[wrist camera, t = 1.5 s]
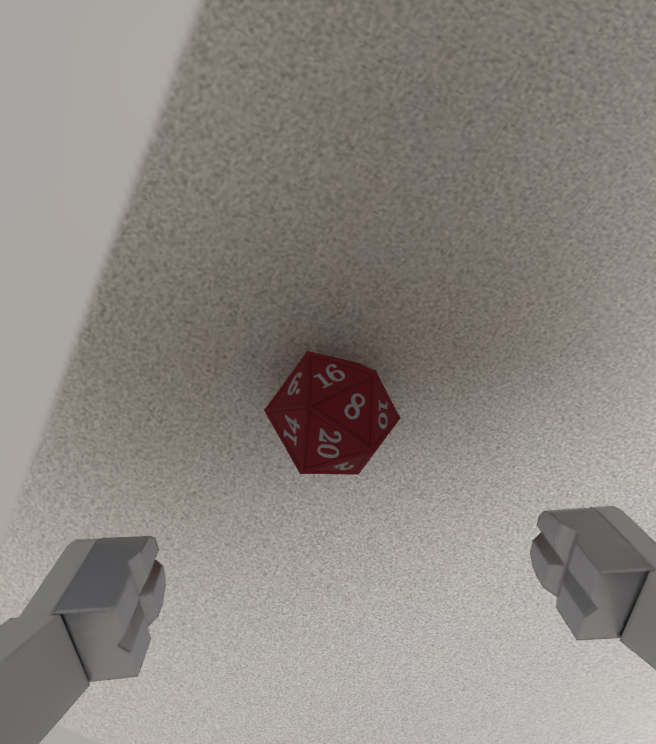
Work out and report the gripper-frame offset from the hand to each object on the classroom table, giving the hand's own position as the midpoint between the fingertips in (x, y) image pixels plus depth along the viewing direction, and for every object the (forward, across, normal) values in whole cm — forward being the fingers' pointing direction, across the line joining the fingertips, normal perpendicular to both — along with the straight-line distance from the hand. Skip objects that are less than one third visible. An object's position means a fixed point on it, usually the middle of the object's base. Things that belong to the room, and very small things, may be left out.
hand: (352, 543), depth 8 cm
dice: (+7, 0, 0) cm, 7 cm away
